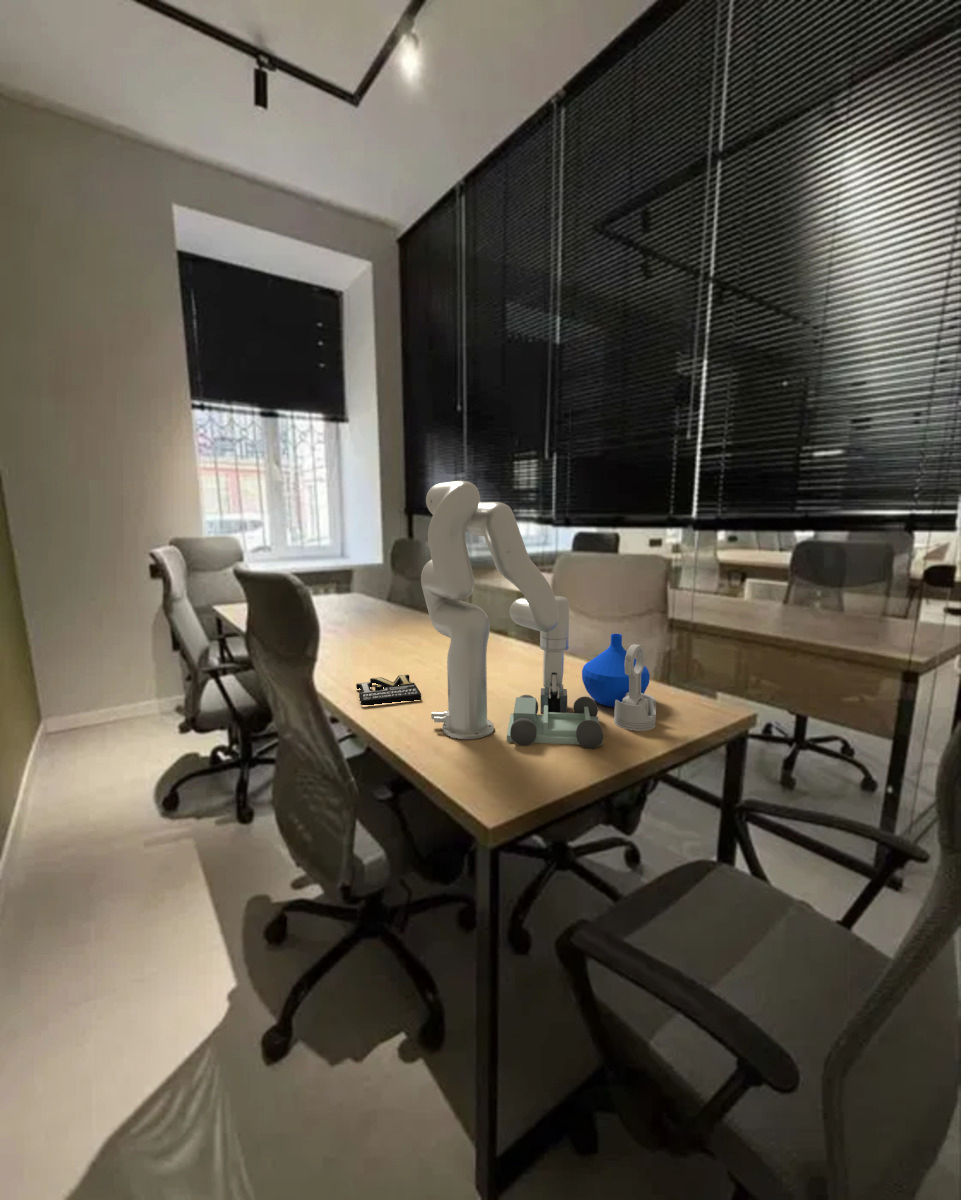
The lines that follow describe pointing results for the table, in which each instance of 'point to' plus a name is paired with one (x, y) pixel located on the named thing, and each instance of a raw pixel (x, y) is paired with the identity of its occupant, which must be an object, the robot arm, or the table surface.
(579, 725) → the chassis
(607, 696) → the vase
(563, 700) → the block
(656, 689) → the table surface
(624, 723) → the engine component
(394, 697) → the decorative sign
